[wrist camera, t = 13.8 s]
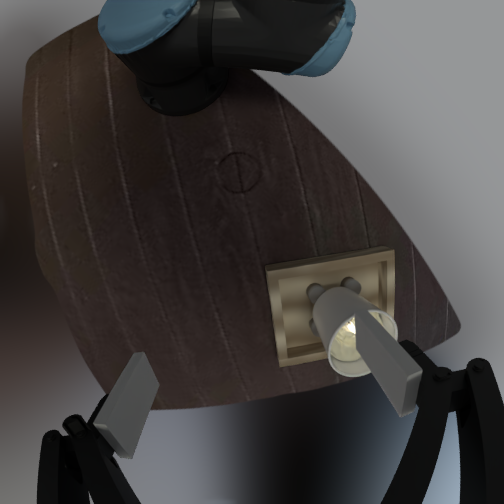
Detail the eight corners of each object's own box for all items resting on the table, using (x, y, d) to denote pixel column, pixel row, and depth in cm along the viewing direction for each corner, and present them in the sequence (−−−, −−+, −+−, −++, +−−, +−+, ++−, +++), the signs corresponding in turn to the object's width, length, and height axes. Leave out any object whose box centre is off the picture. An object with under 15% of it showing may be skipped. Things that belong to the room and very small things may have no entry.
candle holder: (351, 270, 42) (387, 295, 30) (370, 318, 43) (404, 352, 32) (297, 300, 42) (316, 336, 30) (321, 346, 44) (342, 388, 32)
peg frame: (264, 265, 44) (266, 271, 40) (383, 245, 44) (394, 249, 40) (277, 355, 48) (279, 367, 44) (382, 331, 48) (392, 340, 44)
